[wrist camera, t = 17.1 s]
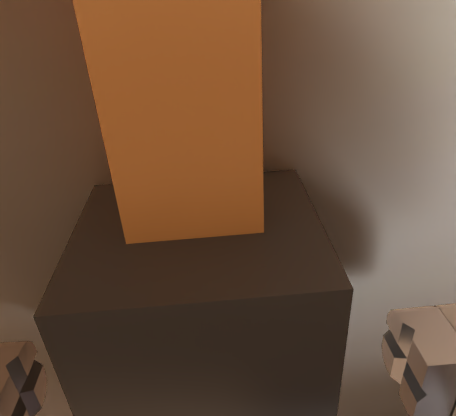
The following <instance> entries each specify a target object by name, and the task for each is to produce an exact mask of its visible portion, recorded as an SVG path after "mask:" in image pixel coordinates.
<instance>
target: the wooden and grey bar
mask: <svg viewBox="0 0 456 416" xmlns="http://www.w3.org/2000/svg"><path fill="white" fill-rule="evenodd" d="M72 1H73V5H74V10H75V15H76V19H77V24H78V28H79V33H80V37H81V42H82V46H83V51H84V55H85V60H86V64H87V69H88V73H89V78H90V82H91V87H92V92H93V96H94V101H95V105H96V110H97V114H98V119H99V123H100V128H101V132H102V137H103V141H104V146H105V150H106V155H107V160H108V164H109V169H110V173H111V178H112V182H113V184H107V185H95V186H94V188H93V190H92V192H91V194H90V196H89V198H88V201H87V203H86V205H85V207H84V209H83V211H82V213H81V216H80V218H79V220H78V222H77V224H76V226H75V229H74V231H73V233H72V235H71V237H70V239H69V241H68V244H67V246H66V248H65V250H64V252H63V254H62V257H61V259H60V261H59V263H58V265H57V267H56V270H55V272H54V274H53V276H52V278H51V280H50V282H49V285H48V287H47V289H46V291H45V293H44V295H43V298H42V300H41V302H40V304H39V306H38V308H37V310H36V313H35V315H34V320H35V322H36V325H37V327H38V330H39V332H40V334H41V337H42V339H43V342H44V344H45V347H46V349H47V352H48V354H49V357H50V359H51V362H52V364H53V367H54V369H55V372H56V374H57V376H58V379H59V381H60V384H61V386H62V389H63V391H64V394H65V396H66V399H67V401H68V404H69V406H70V409H71V411H72V414H73V416H337V411H338V403H339V395H340V388H341V380H342V372H343V365H344V357H345V349H346V342H347V334H348V326H349V319H350V311H351V303H352V296H353V287H352V285H351V283H350V281H349V279H348V277H347V275H346V273H345V271H344V269H343V267H342V265H341V263H340V261H339V258H338V256H337V254H336V252H335V250H334V248H333V246H332V244H331V242H330V240H329V238H328V236H327V234H326V232H325V230H324V228H323V226H322V224H321V221H320V219H319V217H318V215H317V213H316V211H315V209H314V207H313V205H312V203H311V201H310V199H309V197H308V195H307V193H306V191H305V189H304V187H303V184H302V182H301V180H300V178H299V176H298V174H297V172H296V170H285V171H272V172H263V114H262V36H261V0H72Z"/></svg>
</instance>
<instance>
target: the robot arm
mask: <svg viewBox="0 0 456 416" xmlns="http://www.w3.org/2000/svg"><path fill="white" fill-rule="evenodd" d="M386 323H387V325H388V327H389V329H390V330H389V331H387V332H386V333H385V334H384V335H383V340H382V355H383V360H384V363H385V366H386V369H387V371H388V373H389V375H390V377H391V378H393V379H394V380H395V381H397V382H398V383H399V384H401V385H400V389H399V397H400V399H401V401H402V403H403V405H404V407H405V409H406V411H407V413H408V415H409V416H456V304H446V305H435V306H423V307H413V308H403V309H392V310H390V312H389V313H388V315H387V320H386ZM36 354H37V350H36V348H35V346H34V344H33V342H31V341H18V342H1V343H0V416H34V415H35V414H36V413H37V412H38V411H39V410H40V409H41V408H42V406H43V403H44V400H45V397H46V388H47V377H46V372H45V369H44V367H43V365H42V364H40V363H39V362H37V361H36V360H34V359H35V357H36Z"/></svg>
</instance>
